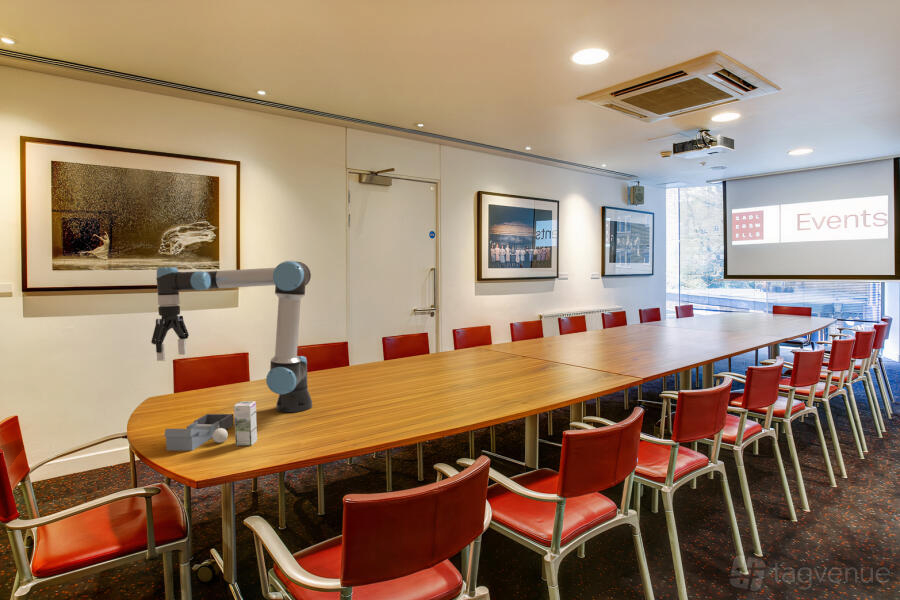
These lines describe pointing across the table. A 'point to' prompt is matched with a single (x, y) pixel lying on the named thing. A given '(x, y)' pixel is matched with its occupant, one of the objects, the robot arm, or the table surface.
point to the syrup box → (245, 423)
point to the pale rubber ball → (219, 435)
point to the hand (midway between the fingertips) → (172, 357)
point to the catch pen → (223, 419)
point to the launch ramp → (189, 436)
